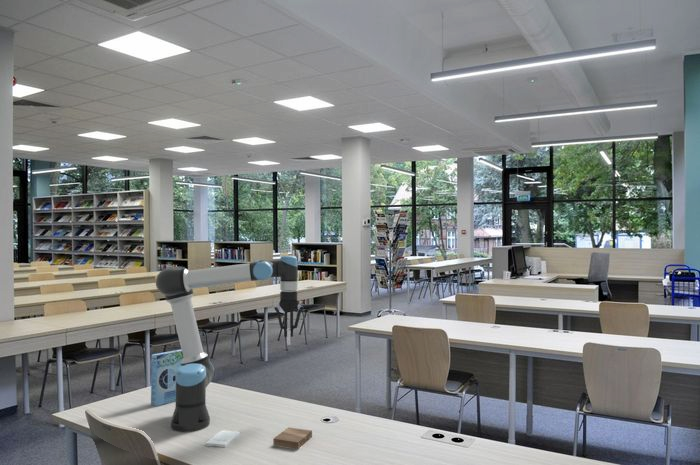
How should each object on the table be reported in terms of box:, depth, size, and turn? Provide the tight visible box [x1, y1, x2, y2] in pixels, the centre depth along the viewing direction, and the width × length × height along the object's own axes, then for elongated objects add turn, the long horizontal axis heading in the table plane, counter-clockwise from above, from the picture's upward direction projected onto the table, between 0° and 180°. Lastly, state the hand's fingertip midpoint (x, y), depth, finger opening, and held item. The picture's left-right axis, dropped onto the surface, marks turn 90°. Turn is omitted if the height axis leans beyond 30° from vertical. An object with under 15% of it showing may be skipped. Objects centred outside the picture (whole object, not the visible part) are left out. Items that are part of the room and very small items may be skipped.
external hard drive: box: [204, 429, 241, 448], centre depth 186 cm, size 2×8×12 cm
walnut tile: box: [272, 426, 313, 450], centre depth 185 cm, size 3×10×12 cm
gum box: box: [150, 349, 183, 407], centre depth 233 cm, size 20×5×23 cm, turn 141°
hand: (288, 344), depth 218 cm, fingers closed
